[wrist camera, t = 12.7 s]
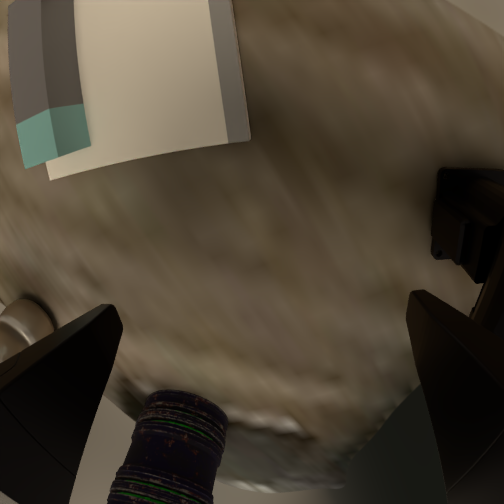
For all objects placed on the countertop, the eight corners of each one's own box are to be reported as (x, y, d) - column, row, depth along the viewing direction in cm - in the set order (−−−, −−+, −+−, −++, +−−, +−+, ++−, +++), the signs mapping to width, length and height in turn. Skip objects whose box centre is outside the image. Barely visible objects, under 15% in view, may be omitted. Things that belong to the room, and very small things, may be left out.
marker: (73, -9, 13) (41, -18, 10) (91, 145, 18) (58, 157, 15) (40, 10, 13) (8, 5, 10) (58, 156, 19) (25, 169, 15)
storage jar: (230, 441, 34) (210, 549, 20) (154, 428, 35) (120, 526, 21) (227, 396, 29) (198, 534, 16) (136, 381, 30) (84, 500, 17)
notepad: (222, -58, 12) (219, -65, 11) (251, 138, 18) (249, 140, 17) (36, 15, 14) (28, 14, 13) (57, 176, 20) (49, 180, 19)
